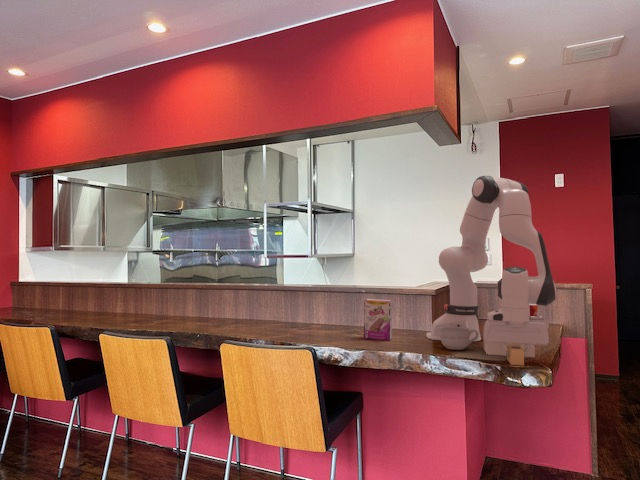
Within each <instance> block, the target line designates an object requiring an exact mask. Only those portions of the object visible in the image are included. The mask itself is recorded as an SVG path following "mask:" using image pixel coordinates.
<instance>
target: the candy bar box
mask: <svg viewBox="0 0 640 480" xmlns="http://www.w3.org/2000/svg"><path fill="white" fill-rule="evenodd" d="M363 308H364V309H363V311H364V314H363V315H364V317H363V321H364V322H363V339H364V340H375V341H376V340H377V341H389V342H390V341H391V340H392V338H393V300H392V299H375V298H374V299H373V298H366V299H364V307H363Z"/></svg>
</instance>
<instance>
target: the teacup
mask: <svg viewBox="0 0 640 480" xmlns="http://www.w3.org/2000/svg"><path fill="white" fill-rule="evenodd" d="M440 329H441V340H440V341H441V344H442V346H444V347H445V349H447V350H452V351H453V350H454V351H455V350H457V351H458V350H459V351H460V350H465V349H466V348H467V347H468V346H469V345H471V344H472V343H473V342H476V341H475V340H476V339H477V338H478V336H479V333H478V331H477V330H475V329H471V330H470V329H469V328H463V327H441V328H440ZM472 332H475V333H476V336H475V338H473V339H471V340H469V336H470V335H471V333H472Z"/></svg>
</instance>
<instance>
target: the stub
mask: <svg viewBox="0 0 640 480" xmlns="http://www.w3.org/2000/svg"><path fill="white" fill-rule="evenodd" d="M507 350H508V351H509V357H507V356H506V360H507V361H508V363H509V364H510V366H511V365H513V366H523V367H524V366H525V358H524V350H523V348H522V347H521V346H520V345H508V344H507Z"/></svg>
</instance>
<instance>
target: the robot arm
mask: <svg viewBox="0 0 640 480" xmlns="http://www.w3.org/2000/svg"><path fill="white" fill-rule="evenodd" d="M471 193H472V194H471V195H472V196H471V198H470V199H469V201H468V204H467V206H466V208H465V211H464V214H463V218H462V220H461V223H460V227H459V233H460V235H461V236H462V238H461V239H462V242H461V246H450V247H447V248H445V249H443V250H442V251H440V253H439V256H438V265H439V266H440V267H441V269H442V270H443V271H444V273H445V275H446V277H447V280H448V284H449V304H444V306H443V308H444V314H442V315H441V316H439V317H438V318H436V319H435V320H434V321H433V322H432V325H431V331H428V332H426V334H425V337H426V338H427V339H429V340H433V341H441V329H440V328H441V327H463V328H469V329H470V330H471V329H475V330H477V331H478V333H479V336H478V338H477V339H476V340H475V341H474V342H479V341H481V340H483V341H484V340H485V341H486V342H495V343H500V345H501V347H502V348H503V350H504V356H503V357H506V358H507V357H509V351H508V350H506V349H505V347H504V346H506V343H513V344H525V347H526V348H525V350H524V359H525V358H528V357H527V352H528V351H529V349H530V344H532V345H535V346H547V345H548V344H549V343H550V338H549V331H548V329H549V328H550V322H549V319H547V318H546V317H545V316H537V317H536V316H530V306H529V304H536V305H538V306H543V307H546V306H549V305H551V304H552V303H553V302H554V301H555V300H556V299H557V298H556V297H557V288H556V284H555V281H554V279H553V276H552V270H551V266H550V261H549V257H548V251H547V247H546V244H545V240H544V237H543V234H542V233H541V232H540V231H538V230H536V228H535V226H534V225H533V221H532V204H531V201H530V197H529V188H528V187H527V186H526V185H525V184H524V183H522V182H520V181H516V180H512V179H509V178H506V177H505V178H504V177H496V176H491V175H481V176H479V177H477V178H476V179H475V181H474V182H473V184H472V187H471ZM496 209H498V225H499V226H498V228H499V233H500V235H501V236H502V237H503V238H504V239H505V240H506V241H508V242H509V243H510V242H511V243H512V244H515V245H517V246H521V247H523V248H525V249H528V250H530V252H532V253H533V255H534V258H535V263H536V269H537V273H538V275H536V276H533V275H532V276H530V275H529V272H528V270H527V268H525V267H521V266H510V267H505V268H504V269H503V270H502V276H501V278H500V279H499V280H498V281H497V289H498V290H497V296H498V297H499V299H501V306H500V309H496V310H492V311H489V312H487V314H486V316H487V319H486V321H485V322H484V325H483V333H482V334H483V335H482V336H481V332H480V328H479V314H480V313H479V311H480V310H479V309H480V308H479V306H478V286H477V285H476V284H475V283H474V280H473V278H472V276H471V273H475V272H480V271H481V270H483V269H485V268H486V267H487V265H488V263H489V256H488V253H487V252H486V243H487V242H486V241H487V236H488V233H489V231H490V230H489V229H490V226H491V224H492V222H493V221H492V220H493V218H494V214H495V212H496ZM475 336H476V333H475V332H472V333H471V335H470V336H469V340H471V339H473V338H475ZM482 337H483V339H482Z"/></svg>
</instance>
